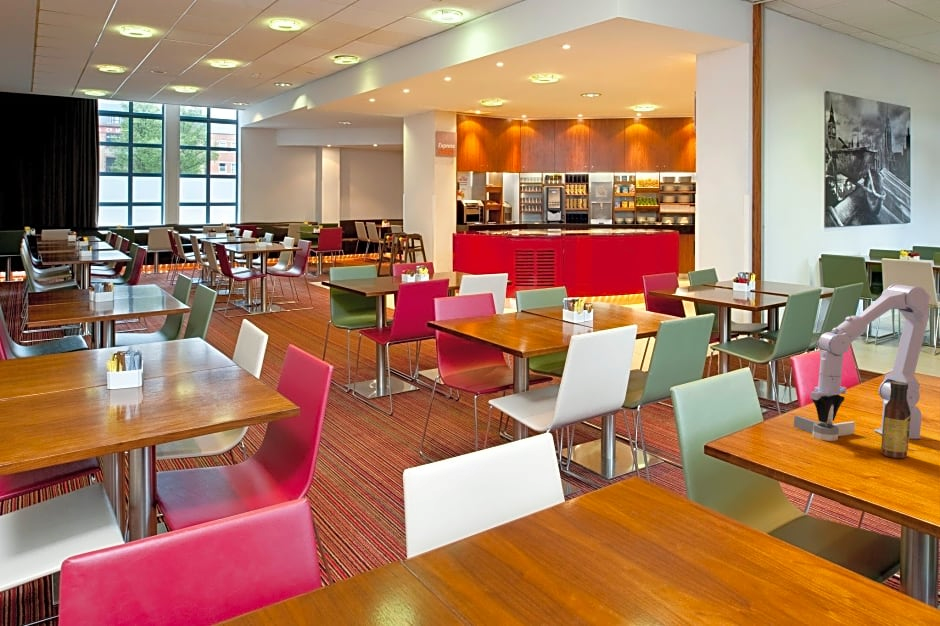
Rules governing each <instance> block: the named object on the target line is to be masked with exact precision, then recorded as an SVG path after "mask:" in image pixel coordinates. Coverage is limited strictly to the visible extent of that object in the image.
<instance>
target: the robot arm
mask: <svg viewBox="0 0 940 626" xmlns="http://www.w3.org/2000/svg"><path fill="white" fill-rule="evenodd" d="M930 299H931V296H930V295H929V293H928V292H927V290H926V289H925V288H923V287H921V286H911V285H905V284H900V283H892V284H891V285H889V286H888V287H887V288H886V289H883V291H882V293H881V295H880V296H879V297H878V298H877V299H875V300H874V302H872V303H871V304H870V305H869V306H868V307H867V308H865V309H864V310H863V311H862V312H861V313H860V314H859V315H850V316H849V315H848V316H846V317H845V318H844V321H843V322H841V323H840V324H838V326H836V327H833V328H832V330H831V331H828V332H827V331H826V332H824V333H823V334H821V336H820V337H818V338H819V339H818V340H817V341H816V345H817V347H818V349H819V356H820V361H819V371H818V373H819V374H818V382H817V383H818V384H817V386H814V390H813V391H810V396H809V399H811V400H812V402H813V404H814V406H815V409H816V413H817V418H818V422H824V423H826V422H827V420H828V416H829V411H830V408H831V406H832V404H834V411H833V422H834V421H835V419H836V416H837V413H838V411H839V408H840V406H841V405H842V404H843V402H845V398H846V397H845V396H843V395H846V394H847V387H846V386H841V385H842V375H843V362H844V354H847V352H848V351H849V348H850V345H851V344H852V343H853V342H854V341H855V340H857V339H858V338H859V337H861V336H862V335H863V334H864V333H866V332H867V331H868V325H869V324H871V323H872V322H874V321H875V320H876V319H878V318H880V317H881V316H882V315H884V314H886V313H888V312H889V311H891V310H898V311H899V312H900V314H901V315H902V316H903V317H904V323H903V327H902V331H901V336H900V340H899V344H898V348H897V351H896V355H895V359H894V363H893V366H892V367H893V368H892V370H891V371H890V372H888V373H886V374H885V375H884V379H883V381H882V382H881V383H880V385H879V387H878V395H879V397H880V398H881V399H882V403H883V404H882V405H883V407H882V417H881V425H880V428H874V429H873V430H874V432H876V433H878V434H880V435H882V430H883V417H884V410H885V405H886V404H887V403H888V401H889V400H890V395H891V387H890V385H891V382H895V381H896V382H904V383H908V390H907V402H908V405H909V409H910V412H911V419H910V432H909V440H910V439H913V440H914V439H915V440H916V439H917V440H918V439H922V436H920V435H921V427H922V426H921V425H922V411H921V409H920V408H919V407H918V406H917V404H918V403H919V401H920V398H921V397H920V396H921V395H920V394H921V393H920V382H919V380H918V379H917V378H916V376H915V372H916V371H917V370H916V369H917V366H918V363H919V362H918V361H919V357H920V354H921V349H922V346H923V343H924V342H923V340H924V337H925V334H926V329H927V325H928V321H929V318H930V313H929V312H930V311H929V303H930ZM841 394H842V395H841Z"/></svg>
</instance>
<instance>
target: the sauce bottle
mask: <svg viewBox="0 0 940 626" xmlns="http://www.w3.org/2000/svg"><path fill="white" fill-rule="evenodd" d="M890 387H891V395H890V400H889V401H888V403H887V404H886V405H885V410H884V417H883V430H882V434H881V447H880V449H881V454H882V455H883V456H885V457H888V458H893V459H905V458H907V457H908V452H909V442H910V439H909V432H910V419H911V412H910V409H909V405H908V402H907V390H908V383H904V382H896V381H895V382H891V385H890Z"/></svg>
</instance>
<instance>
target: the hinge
mask: <svg viewBox="0 0 940 626" xmlns="http://www.w3.org/2000/svg"><path fill="white" fill-rule="evenodd" d="M820 425H821V421H816V420H812V419H808V418H807V417H803V416H801V415H797V414H796V415H794V417H793V428H795V427H797V428H796V429H798V428H799V429H798V430H801V429H802V430H801V431H804V430H805V431H804V432H808V433H810V434H812V438H814V439H818V440H820V441H828V442H833V441H838V440H839V437H841V436H847V435H848V436H849V435H854V434H855V429H856V428H855V427H856V421H854V420H853V421H845V422H837V423H832V428H826V427H821V426H820Z"/></svg>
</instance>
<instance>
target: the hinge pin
mask: <svg viewBox="0 0 940 626" xmlns="http://www.w3.org/2000/svg"><path fill="white" fill-rule="evenodd" d="M833 411H834V404H832V406H831V408H830V411H829V416H828V420H827V422H826V423H824V422H821V421H820V422H821V425H820V426H821V427H826V428H832V424H833V422H834V421H833Z"/></svg>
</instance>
